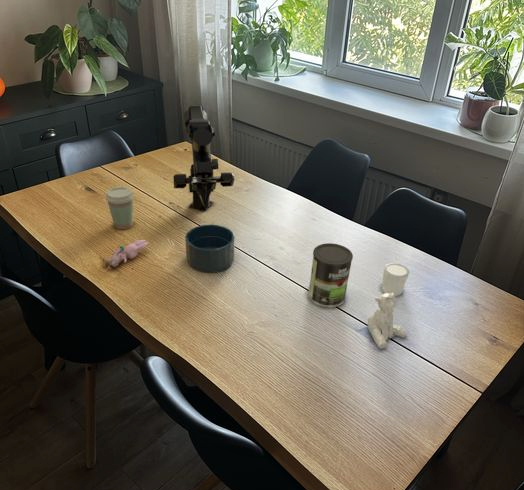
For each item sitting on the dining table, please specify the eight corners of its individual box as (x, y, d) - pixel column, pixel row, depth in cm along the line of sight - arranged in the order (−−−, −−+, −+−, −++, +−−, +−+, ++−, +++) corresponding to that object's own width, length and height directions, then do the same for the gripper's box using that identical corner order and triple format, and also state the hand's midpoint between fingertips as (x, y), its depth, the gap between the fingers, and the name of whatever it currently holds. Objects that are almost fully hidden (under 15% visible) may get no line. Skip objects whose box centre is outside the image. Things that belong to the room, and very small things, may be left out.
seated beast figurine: (380, 351, 120) (390, 313, 113) (355, 331, 126) (362, 293, 119) (406, 336, 125) (417, 299, 118) (381, 318, 131) (389, 281, 124)
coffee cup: (140, 219, 167) (136, 187, 160) (132, 232, 160) (127, 199, 153) (115, 217, 168) (110, 185, 161) (106, 230, 161) (100, 196, 154)
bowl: (201, 242, 157) (200, 220, 152) (241, 253, 153) (242, 231, 148) (177, 265, 146) (176, 242, 141) (221, 278, 142) (220, 254, 137)
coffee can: (352, 301, 136) (360, 259, 128) (321, 311, 132) (327, 268, 123) (331, 281, 143) (338, 239, 135) (301, 290, 139) (305, 247, 131)
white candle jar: (405, 285, 143) (410, 265, 139) (402, 299, 137) (408, 279, 133) (381, 280, 144) (385, 260, 140) (377, 293, 139) (382, 273, 135)
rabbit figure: (114, 276, 142) (155, 249, 150) (108, 260, 138) (150, 234, 146) (101, 267, 146) (142, 242, 154) (96, 252, 142) (137, 226, 150)
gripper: (171, 149, 148) (175, 199, 145) (233, 148, 151) (238, 197, 148) (172, 163, 159) (175, 210, 156) (230, 162, 162) (234, 208, 159)
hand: (205, 206), depth 155 cm, fingers closed
